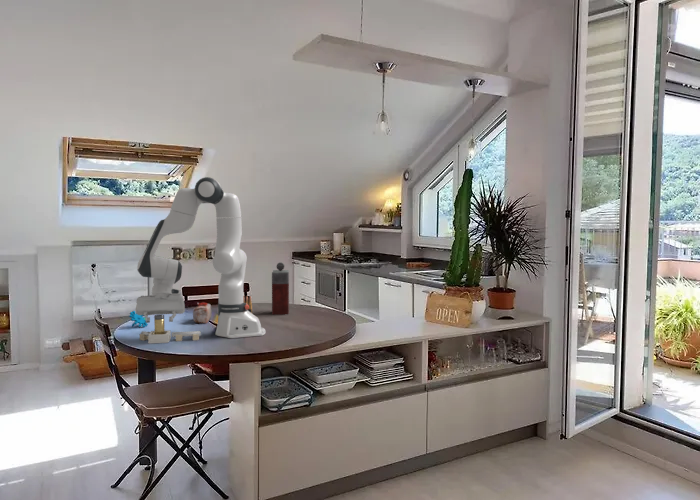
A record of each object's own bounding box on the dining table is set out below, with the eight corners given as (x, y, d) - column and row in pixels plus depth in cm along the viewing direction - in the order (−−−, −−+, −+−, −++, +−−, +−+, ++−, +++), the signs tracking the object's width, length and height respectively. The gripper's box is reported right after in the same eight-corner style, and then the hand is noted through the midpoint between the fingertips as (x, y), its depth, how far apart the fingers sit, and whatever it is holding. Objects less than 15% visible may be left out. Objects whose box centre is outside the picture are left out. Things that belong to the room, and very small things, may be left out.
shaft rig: (201, 336, 236) (201, 329, 236) (200, 341, 228) (200, 333, 228) (151, 339, 232) (151, 331, 232) (148, 343, 224) (148, 335, 224)
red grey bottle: (289, 310, 300) (289, 261, 298) (288, 314, 289) (288, 263, 287) (273, 310, 299) (273, 261, 297) (272, 314, 288) (271, 263, 286)
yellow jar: (165, 337, 231) (164, 314, 230) (164, 339, 227) (163, 316, 226) (155, 337, 230) (155, 314, 230) (154, 339, 226) (153, 316, 226)
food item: (208, 324, 264) (208, 304, 263) (192, 324, 263) (191, 304, 262) (212, 318, 277) (212, 299, 277) (196, 318, 276) (196, 300, 276)
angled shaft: (152, 338, 232) (152, 331, 232) (147, 340, 229) (147, 332, 228) (145, 338, 233) (145, 330, 233) (139, 340, 230) (139, 332, 230)
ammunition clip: (252, 318, 279) (252, 295, 278) (251, 318, 277) (251, 296, 276) (232, 317, 279) (232, 295, 278) (231, 318, 277) (231, 295, 276)
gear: (138, 326, 250) (127, 310, 253) (130, 334, 251) (119, 318, 254) (153, 324, 261) (143, 309, 263) (146, 332, 262) (135, 317, 264)
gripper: (136, 291, 232) (132, 318, 223) (185, 290, 236) (183, 316, 228) (138, 300, 237) (134, 326, 228) (186, 298, 241) (184, 324, 232)
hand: (159, 321), depth 228 cm, fingers open, 8 cm apart
